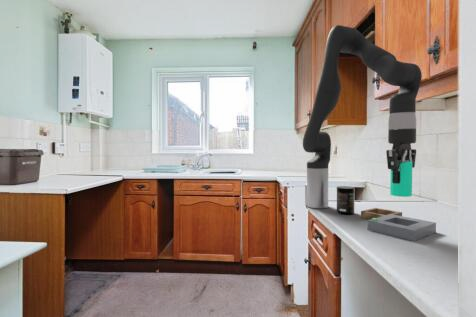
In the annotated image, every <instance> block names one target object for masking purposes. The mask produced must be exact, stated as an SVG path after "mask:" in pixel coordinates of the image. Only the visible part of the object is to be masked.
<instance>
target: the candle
mask: <svg viewBox="0 0 476 317" xmlns="http://www.w3.org/2000/svg"><path fill="white" fill-rule="evenodd" d="M391 165H392V163H391ZM392 172H393V171H391V170H390V194H389V195H390V196H394V197H403V198H405V197H406V198H407V197H408V198H409V197H413V168H412V162H404V163H402V164H401V171H399V172H400V183H399V184H397V183H393V182H392Z"/></svg>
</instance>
